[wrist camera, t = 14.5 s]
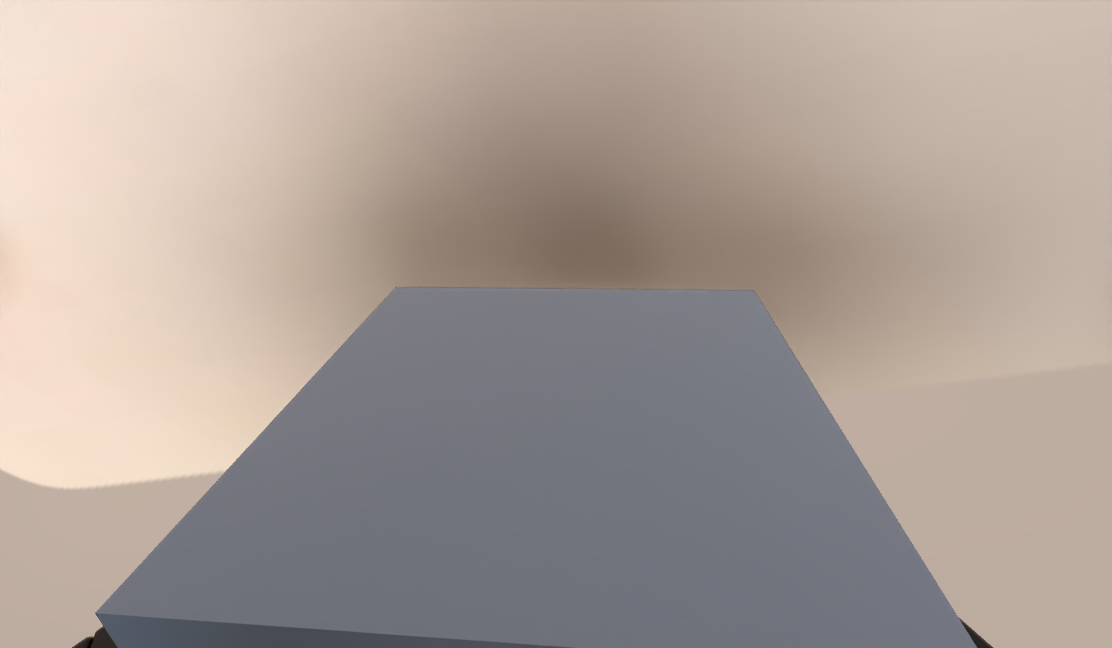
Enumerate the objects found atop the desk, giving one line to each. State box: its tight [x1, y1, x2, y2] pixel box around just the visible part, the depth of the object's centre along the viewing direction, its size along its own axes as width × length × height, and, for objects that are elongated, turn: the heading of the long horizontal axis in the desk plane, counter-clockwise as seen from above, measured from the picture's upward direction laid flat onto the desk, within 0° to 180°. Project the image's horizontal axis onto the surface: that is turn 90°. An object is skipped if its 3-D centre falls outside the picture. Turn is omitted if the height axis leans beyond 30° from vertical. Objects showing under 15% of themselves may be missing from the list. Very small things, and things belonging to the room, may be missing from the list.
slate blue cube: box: [95, 287, 977, 648], centre depth 6 cm, size 5×5×5 cm
